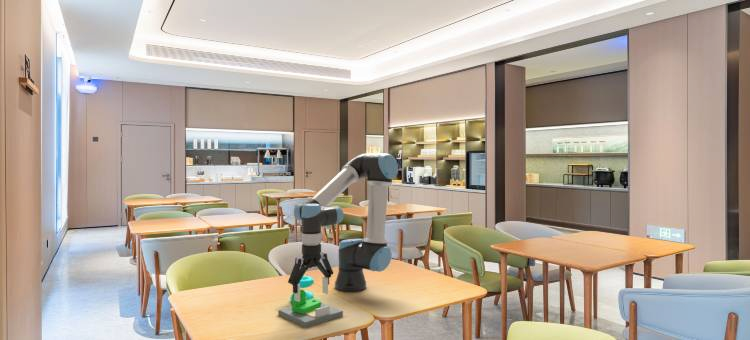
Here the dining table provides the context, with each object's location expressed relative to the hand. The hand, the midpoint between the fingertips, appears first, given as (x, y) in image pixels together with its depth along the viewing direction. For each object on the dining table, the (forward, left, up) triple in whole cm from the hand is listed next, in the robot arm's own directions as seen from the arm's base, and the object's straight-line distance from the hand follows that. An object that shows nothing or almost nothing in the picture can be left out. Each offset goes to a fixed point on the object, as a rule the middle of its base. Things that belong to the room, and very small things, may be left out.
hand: (311, 297), depth 175 cm
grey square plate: (0, 0, -7) cm, 7 cm away
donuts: (-8, -17, -8) cm, 20 cm away
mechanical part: (0, -2, -5) cm, 5 cm away
